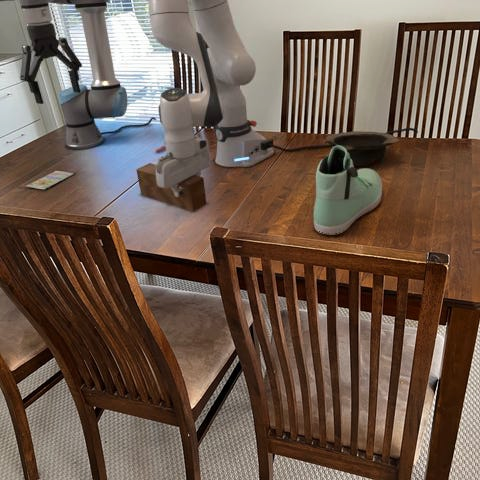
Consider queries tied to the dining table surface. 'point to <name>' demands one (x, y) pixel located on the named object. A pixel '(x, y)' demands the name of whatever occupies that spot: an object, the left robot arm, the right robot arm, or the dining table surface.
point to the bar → (189, 187)
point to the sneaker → (343, 192)
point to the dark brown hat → (363, 145)
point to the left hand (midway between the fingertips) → (59, 97)
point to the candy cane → (160, 149)
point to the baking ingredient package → (50, 180)
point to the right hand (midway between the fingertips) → (187, 190)
